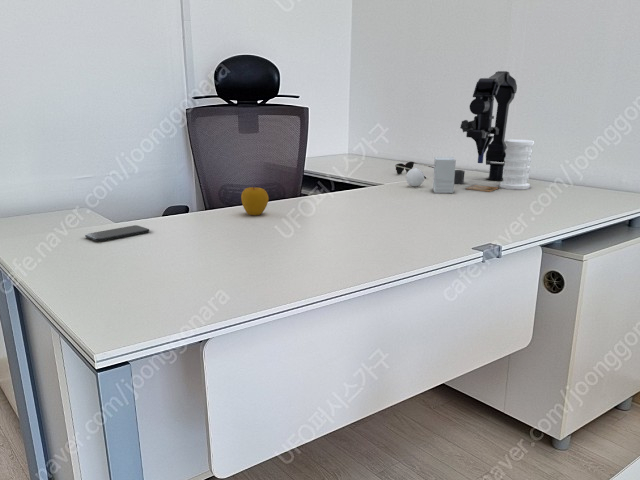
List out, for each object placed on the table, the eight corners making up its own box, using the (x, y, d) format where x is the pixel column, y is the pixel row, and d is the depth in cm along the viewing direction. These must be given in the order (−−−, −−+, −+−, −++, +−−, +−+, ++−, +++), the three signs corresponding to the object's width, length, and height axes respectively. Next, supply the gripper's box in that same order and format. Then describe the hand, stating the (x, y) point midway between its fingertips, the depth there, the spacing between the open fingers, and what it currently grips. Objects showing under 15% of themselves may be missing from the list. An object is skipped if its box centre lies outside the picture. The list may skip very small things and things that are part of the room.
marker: (478, 162, 234) (480, 138, 231) (483, 162, 233) (485, 139, 230) (476, 162, 232) (478, 139, 229) (481, 163, 231) (483, 139, 228)
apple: (271, 212, 193) (270, 184, 190) (264, 217, 185) (264, 189, 182) (246, 211, 194) (245, 184, 191) (238, 216, 187) (237, 188, 183)
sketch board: (475, 185, 241) (475, 184, 241) (499, 188, 235) (499, 187, 235) (465, 189, 233) (465, 188, 233) (489, 191, 228) (489, 190, 228)
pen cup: (454, 181, 250) (455, 169, 248) (465, 182, 248) (466, 170, 246) (449, 183, 247) (450, 171, 245) (460, 184, 244) (461, 172, 242)
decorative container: (518, 183, 245) (524, 139, 239) (535, 188, 235) (541, 141, 228) (494, 185, 242) (498, 139, 236) (509, 189, 232) (515, 142, 225)
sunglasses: (412, 171, 275) (413, 161, 273) (441, 177, 265) (442, 166, 263) (394, 175, 266) (395, 163, 264) (423, 181, 256) (425, 169, 254)
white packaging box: (451, 189, 232) (454, 157, 227) (453, 193, 225) (456, 159, 220) (432, 189, 232) (434, 156, 228) (433, 193, 225) (436, 159, 221)
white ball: (427, 187, 238) (428, 168, 235) (413, 188, 234) (414, 169, 231) (411, 183, 246) (412, 165, 243) (397, 185, 242) (398, 166, 239)
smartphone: (136, 227, 173) (83, 237, 162) (136, 224, 172) (83, 233, 162) (151, 232, 167) (97, 242, 157) (150, 229, 167) (97, 239, 156)
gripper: (474, 111, 237) (470, 151, 243) (455, 113, 223) (451, 156, 229) (501, 112, 231) (497, 153, 237) (483, 114, 217) (479, 158, 223)
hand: (480, 155), depth 232 cm, fingers closed on marker, 2 cm apart
